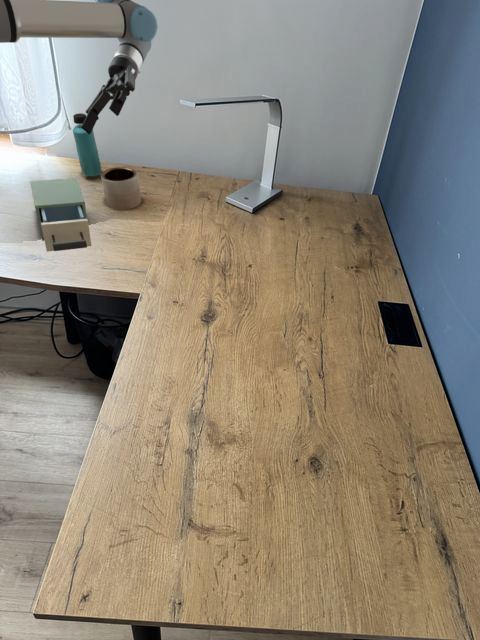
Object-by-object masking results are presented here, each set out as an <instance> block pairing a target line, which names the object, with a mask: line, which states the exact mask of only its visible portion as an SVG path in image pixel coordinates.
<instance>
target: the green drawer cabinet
mask: <svg viewBox="0 0 480 640" xmlns="http://www.w3.org/2000/svg"><path fill="white" fill-rule="evenodd" d="M29 183H30V189H31V194H32V199H33V203H34V208H35V213H36V218H37V222H38V229H39V233H40V238H41V241H42V242H45V241H44V236H43V231H42V226H41V223H44V222H43V217H42V213H41V208H48V207H60V206H72V205H80V207H81V210H82V213H83V216H84V219H88V216H87V208H86V201H85V198H84V195H83V192H82V190H81V186H80V183H79V181H78V178H77V177H74V178H60V179H59V178H57V179H44V180H30V181H29Z"/></svg>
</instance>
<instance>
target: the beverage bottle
mask: <svg viewBox="0 0 480 640" xmlns="http://www.w3.org/2000/svg"><path fill="white" fill-rule="evenodd" d="M86 116H87V114H86V113H80V112H79V113H75V114H73V116H72V118H73V123H74V124H76V125H75V126H74V127H73V128H72V133H73V138H74V142H75V148H76V152H77V157H78V159H79V160H78V161H79V165H80V170H81V172H82V175H84V176H86V177H97V176H99V175H101V174H102V166H101V165H102V164H101V160H100V156H99V150H98V148H97V147H98V146H97V142H96V138H95V133H94V129H93V130H92V132H91V134H88V133H87V132H86V131H84V130H83V129H82V128H81V126H82V124H83V122H84V120H85V118H86Z"/></svg>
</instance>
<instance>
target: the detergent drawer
mask: <svg viewBox="0 0 480 640" xmlns="http://www.w3.org/2000/svg"><path fill="white" fill-rule="evenodd" d="M41 213H42V217H43V222H44V223H41V226H42V231H43V236H44V241H43V242H44V245H45V250H46V252H47V253H48V252H61V251H69V250H77V249H85V248H86V249H87V248H88V247H92V239H91V232H90V226H89V225H90V224H89V220H88V219H89V218H87V219H84V216H83V213H82V210H81V207H80V205H72V206H60V207H48V208H41Z"/></svg>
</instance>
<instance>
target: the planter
mask: <svg viewBox="0 0 480 640" xmlns="http://www.w3.org/2000/svg"><path fill="white" fill-rule="evenodd" d="M100 178H101V182H102V183H101V184H102V187H103V195H104V200H105V204H106V206H107V207H109V208H111V209H113V210H130V209H133V208H135V207H138V206H139V205H140V204H141V203H142V195H141V188H140V184H139V183H140V182H139V176H138V171H136V169H134V168H131V167H127V166H117V167H112V168H108V169H106V170H104V171H103V172H101V173H100Z"/></svg>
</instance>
